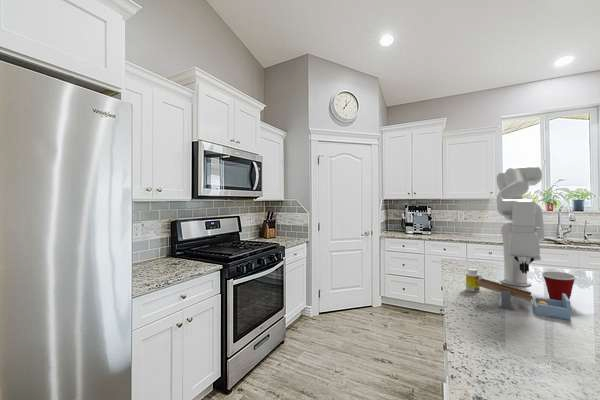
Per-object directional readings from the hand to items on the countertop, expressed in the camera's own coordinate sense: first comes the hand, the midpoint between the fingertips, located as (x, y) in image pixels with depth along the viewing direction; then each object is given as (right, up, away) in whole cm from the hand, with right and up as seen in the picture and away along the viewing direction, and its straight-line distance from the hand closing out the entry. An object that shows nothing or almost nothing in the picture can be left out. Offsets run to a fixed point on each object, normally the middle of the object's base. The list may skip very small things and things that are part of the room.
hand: (524, 272), depth 117 cm
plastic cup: (+15, -13, +1) cm, 20 cm away
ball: (0, -11, -9) cm, 14 cm away
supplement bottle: (-11, -14, +18) cm, 25 cm away
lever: (-9, -7, +1) cm, 11 cm away
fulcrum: (-9, -13, -2) cm, 16 cm away
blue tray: (+2, -13, -10) cm, 17 cm away
